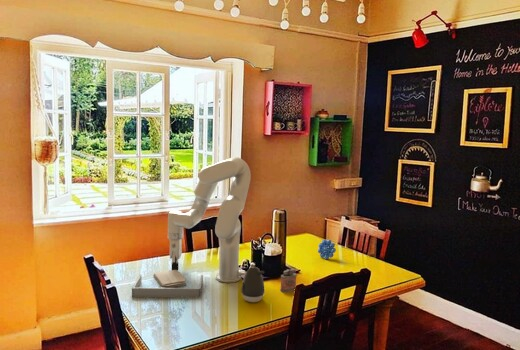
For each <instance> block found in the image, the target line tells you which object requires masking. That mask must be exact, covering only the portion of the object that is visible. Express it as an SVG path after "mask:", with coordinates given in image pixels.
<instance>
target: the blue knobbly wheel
mask: <svg viewBox="0 0 520 350" xmlns="http://www.w3.org/2000/svg"><path fill="white" fill-rule="evenodd" d="M335 246H336V244H335V243H334V242H332V239H328V238H327V240H326V239H322V240H321V242H320V243H318V249H317V253H318V254H319V257H320V258H322V259H323V258H324V259H325V260H328V259H329V258H333V257H334V254H335V252H337V250H336V247H335Z"/></svg>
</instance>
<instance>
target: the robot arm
mask: <svg viewBox="0 0 520 350" xmlns="http://www.w3.org/2000/svg"><path fill="white" fill-rule="evenodd" d="M251 174H252V173H251V169H250V167H249V165H248V163H247V162H246V161H245V160H244V159H242V158H241V157H237V156H233V157H230V158H227V159H224V160H222V161H220V162H219V161H218V162H217V163H214V164H211V165H207V166H205V167H202V168H201V169H200V170H199V173H198V180H199V181H198V182H197V185H196V187H195V189H194V191H193V192H194V195H195V196H194V201H193V203H192V206H191V207H190V209H189V211H187V212H183V211H182V210H177V209H175V210H174V209H173V210H170V211H169V212H168V214H167V239H168V240H169V259H170V260H171V270H177V271H178V272H179V260H180V259H181V257H182V253H183V250H182V249H183V248H182V247H183V246H182V243H183V242H182V240H183V239H184V228H185V229H192V228H194V227H195V226H196V225H197V224H199V223H200V222H201V221H202V219H203V217H204V215H205V213H206V211H207V209H208V206H209V204H210V201H211V197H212V196H213V193H214V191H215V189H216V188H217V185H218V184H219V183H220V182H223V181H225V180H229V179H232V178H233V179H232V182H231V184H230V189H229V192H228V196H227V197H226V198H225V199H224V200H223V201H222V202H221V205H220V207H219V211H218V214H217V218H216V222H215V226H214V227H215V228H214V232H215V235H216V237H217V238H218V239H219V253H218V254H219V257H218V258H219V259H218V260H219V261H218V273H216V274H215V279H216V281H218V282H222V283H227V284H229V283H236V282H239V281H241V279H242V276H244V277H245V274H246V272H247V271H246V270H244V269H243V270H241V269H240V267H239V262H240V261H239V260H240V238H241V237H240V236H241V229H242V223H241V221H240V219H239V216H240V214H241V213H242V212H243V211H244V209H245V205H246V200H247V196H248V192H249V188H250V184H251V179H252V175H251Z"/></svg>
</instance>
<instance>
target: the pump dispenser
mask: <svg viewBox="0 0 520 350" xmlns="http://www.w3.org/2000/svg"><path fill="white" fill-rule="evenodd" d="M245 272H246V274H245V276H244V277H243V279H242V285H241V290H240V291H241V295H242V297H243V299H244V300H245V301H246V302H249V303H258V302H260V301H261V300H262V299H263V298H264V297H263V296H264V295H265V291H266V290H265V281H264V279H263V277H264V276H263V274H265V271H264V270H261V271H260V268H258V267H256V266H250V267H249V268H248V269H247V271H245Z"/></svg>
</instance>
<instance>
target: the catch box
mask: <svg viewBox="0 0 520 350" xmlns="http://www.w3.org/2000/svg"><path fill="white" fill-rule="evenodd" d="M203 280H204V275H203V274H202V275H200V280H199V285H198V287H174V288H162V287H140V286H141V285H142V274H139V275H138V277H137V279H136V280H135V282H134V284H133V285H132V287H131V298H132V297H133V298H196V299H197V298H201V295H202V289H203V283H204V281H203Z"/></svg>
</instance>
